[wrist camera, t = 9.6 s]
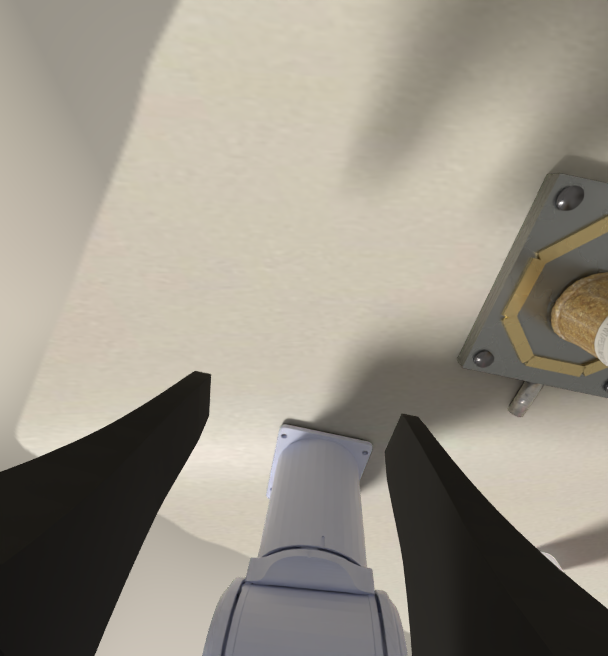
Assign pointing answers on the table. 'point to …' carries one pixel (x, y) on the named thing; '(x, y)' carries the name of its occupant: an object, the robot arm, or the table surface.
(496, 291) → the octagon fixture plate
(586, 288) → the sprinkles bottle
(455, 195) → the table surface
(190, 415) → the robot arm
